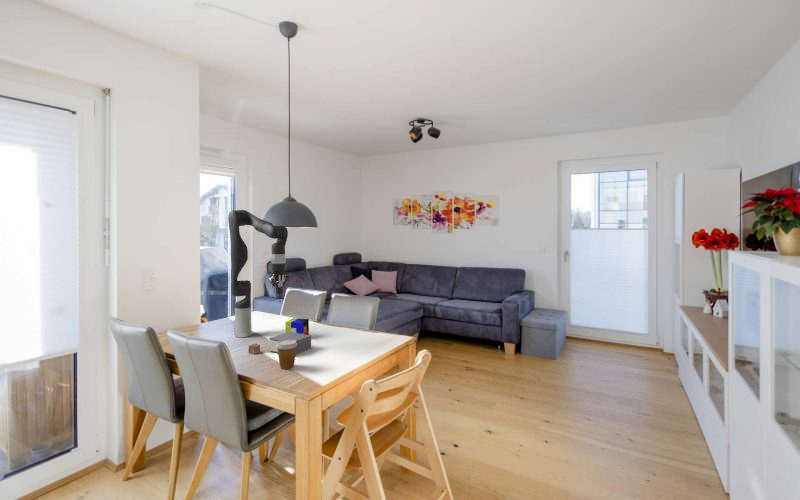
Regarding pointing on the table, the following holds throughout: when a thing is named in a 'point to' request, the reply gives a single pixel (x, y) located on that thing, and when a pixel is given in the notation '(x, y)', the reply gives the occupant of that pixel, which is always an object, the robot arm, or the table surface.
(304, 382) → the table surface
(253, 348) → the walnut block
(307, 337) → the block
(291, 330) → the puzzle toy
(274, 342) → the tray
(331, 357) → the table surface
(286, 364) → the disposable coffee cup
